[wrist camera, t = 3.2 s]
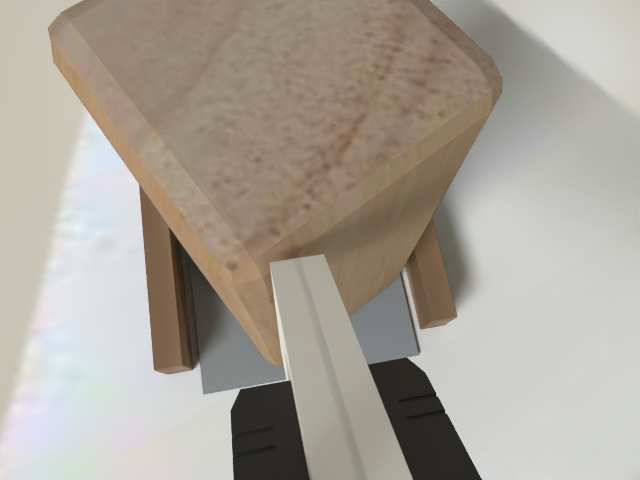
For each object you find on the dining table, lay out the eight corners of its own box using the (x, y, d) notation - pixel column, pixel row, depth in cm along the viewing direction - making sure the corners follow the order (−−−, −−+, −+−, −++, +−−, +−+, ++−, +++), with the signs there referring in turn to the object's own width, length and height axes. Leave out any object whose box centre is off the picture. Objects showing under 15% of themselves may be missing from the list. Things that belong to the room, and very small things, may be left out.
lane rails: (397, 141, 37) (405, 118, 34) (443, 325, 33) (457, 316, 30) (149, 176, 35) (136, 155, 32) (167, 374, 31) (154, 370, 28)
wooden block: (183, 248, 33) (19, 14, 15) (308, 162, 36) (304, -136, 17) (277, 375, 31) (223, 291, 12) (405, 275, 33) (529, 71, 14)
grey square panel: (367, 139, 37) (368, 137, 36) (418, 355, 32) (419, 354, 32) (179, 165, 35) (178, 164, 35) (204, 394, 31) (203, 394, 31)
